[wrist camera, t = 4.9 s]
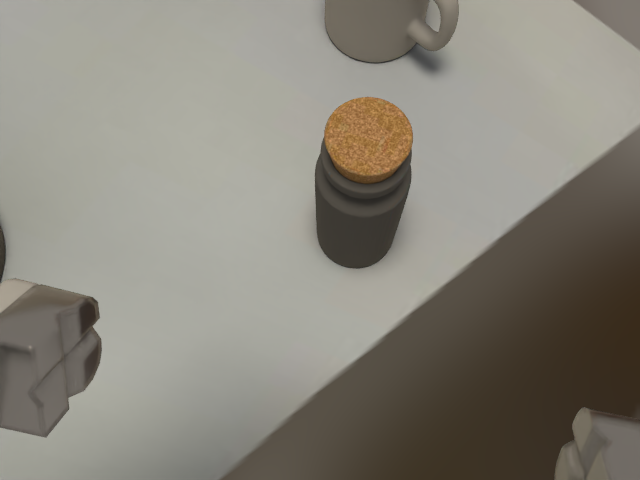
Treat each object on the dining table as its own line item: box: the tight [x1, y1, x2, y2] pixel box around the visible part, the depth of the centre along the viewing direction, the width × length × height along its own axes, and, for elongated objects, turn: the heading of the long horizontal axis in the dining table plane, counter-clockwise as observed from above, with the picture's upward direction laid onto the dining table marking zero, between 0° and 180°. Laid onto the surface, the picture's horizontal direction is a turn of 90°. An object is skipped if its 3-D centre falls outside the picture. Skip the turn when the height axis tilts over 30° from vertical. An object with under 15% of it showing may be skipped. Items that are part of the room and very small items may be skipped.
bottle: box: [315, 97, 413, 268], centre depth 39 cm, size 6×6×15 cm
